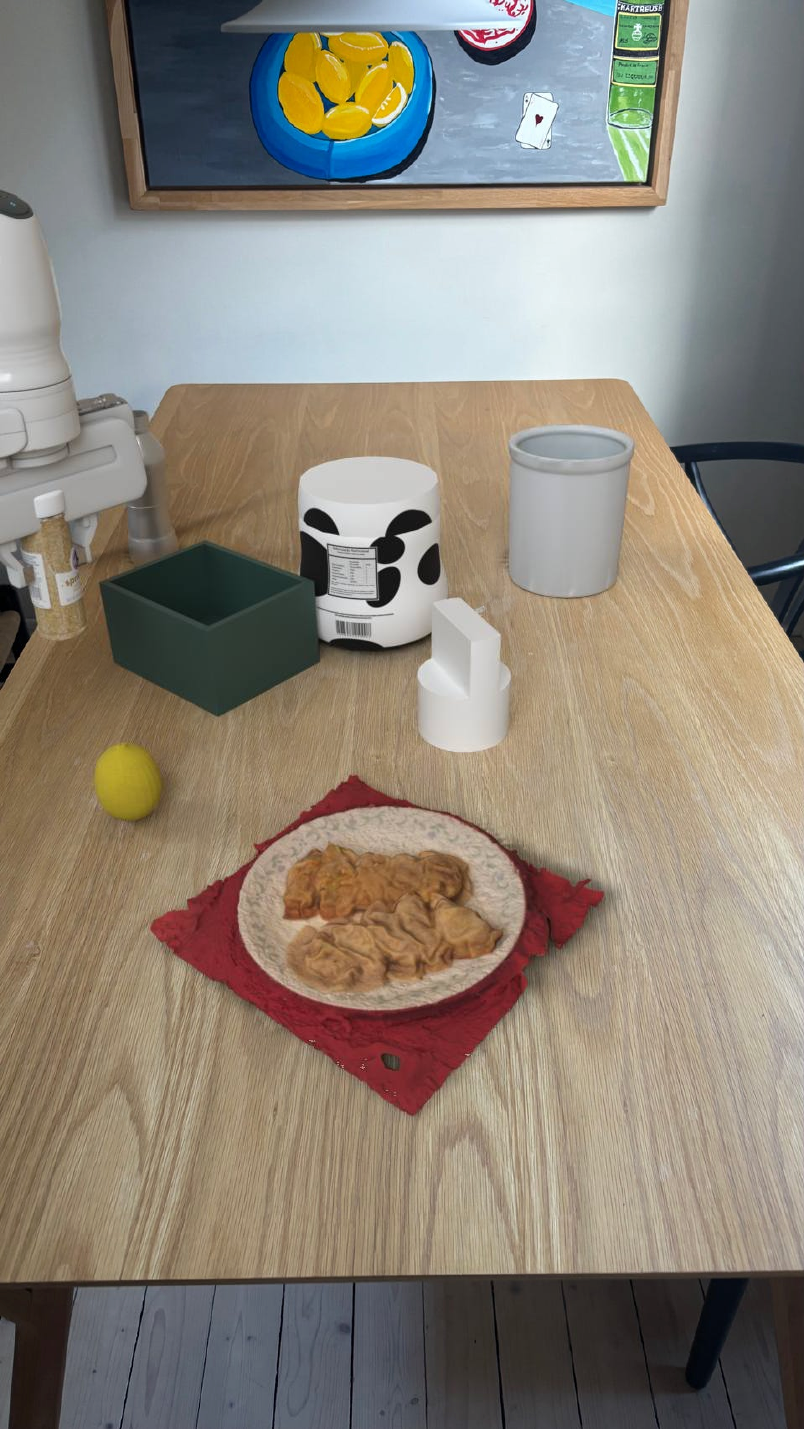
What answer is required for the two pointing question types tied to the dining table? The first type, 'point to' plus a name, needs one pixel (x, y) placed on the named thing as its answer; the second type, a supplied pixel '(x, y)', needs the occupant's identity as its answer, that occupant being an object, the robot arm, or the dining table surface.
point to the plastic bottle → (150, 502)
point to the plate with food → (379, 934)
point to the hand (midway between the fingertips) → (51, 573)
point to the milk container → (372, 550)
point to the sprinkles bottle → (54, 572)
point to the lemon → (127, 782)
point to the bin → (211, 624)
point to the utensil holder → (567, 508)
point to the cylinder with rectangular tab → (463, 682)
